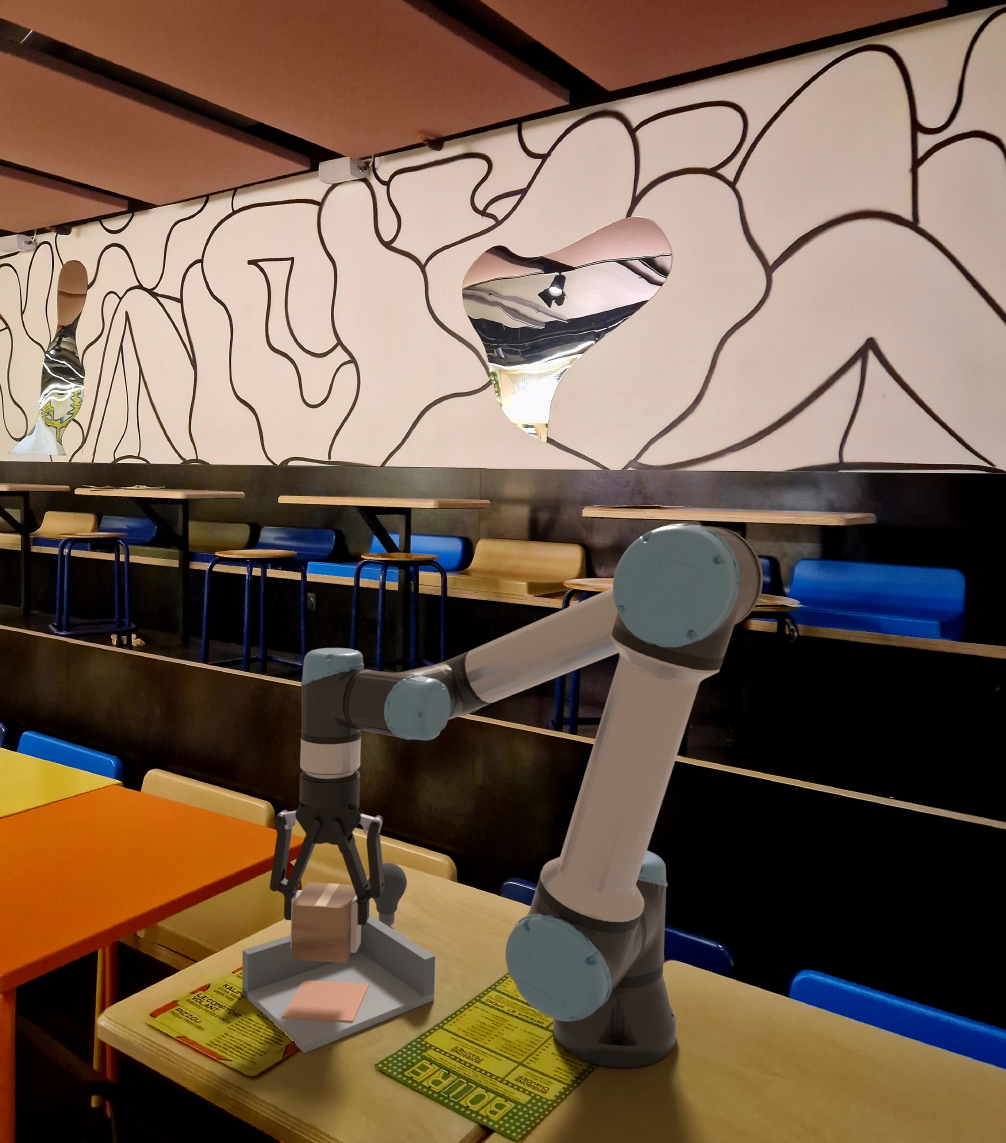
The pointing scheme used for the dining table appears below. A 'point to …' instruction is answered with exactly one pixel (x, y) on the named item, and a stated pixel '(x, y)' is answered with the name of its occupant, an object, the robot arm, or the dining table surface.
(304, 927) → the cardboard box
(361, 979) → the tray
